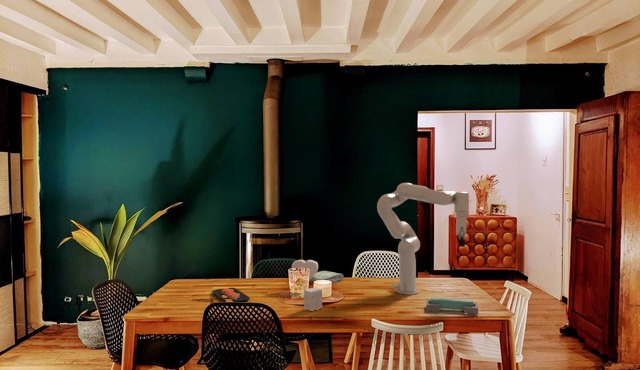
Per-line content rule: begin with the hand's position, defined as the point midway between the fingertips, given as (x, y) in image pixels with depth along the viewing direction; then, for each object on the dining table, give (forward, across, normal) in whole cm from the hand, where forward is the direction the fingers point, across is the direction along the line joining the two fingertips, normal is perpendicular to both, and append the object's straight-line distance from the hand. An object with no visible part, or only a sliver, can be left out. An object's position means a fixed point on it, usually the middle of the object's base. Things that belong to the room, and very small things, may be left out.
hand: (461, 245), depth 253 cm
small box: (+31, +37, -75) cm, 89 cm away
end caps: (+30, +22, -6) cm, 38 cm away
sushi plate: (+31, +31, -133) cm, 140 cm away
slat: (+29, +22, -6) cm, 37 cm away
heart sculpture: (+31, +2, -90) cm, 95 cm away
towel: (+31, -23, -85) cm, 94 cm away
